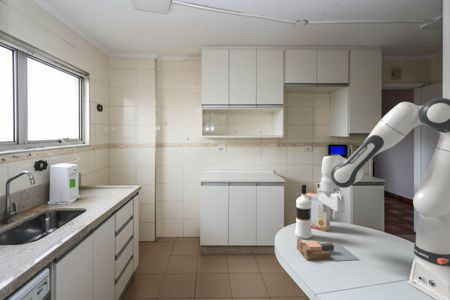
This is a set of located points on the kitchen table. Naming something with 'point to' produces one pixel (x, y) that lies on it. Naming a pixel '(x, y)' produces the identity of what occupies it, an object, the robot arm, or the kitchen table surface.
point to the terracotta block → (319, 246)
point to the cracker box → (318, 214)
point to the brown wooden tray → (311, 255)
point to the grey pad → (341, 254)
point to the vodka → (303, 216)
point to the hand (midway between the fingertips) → (329, 215)
